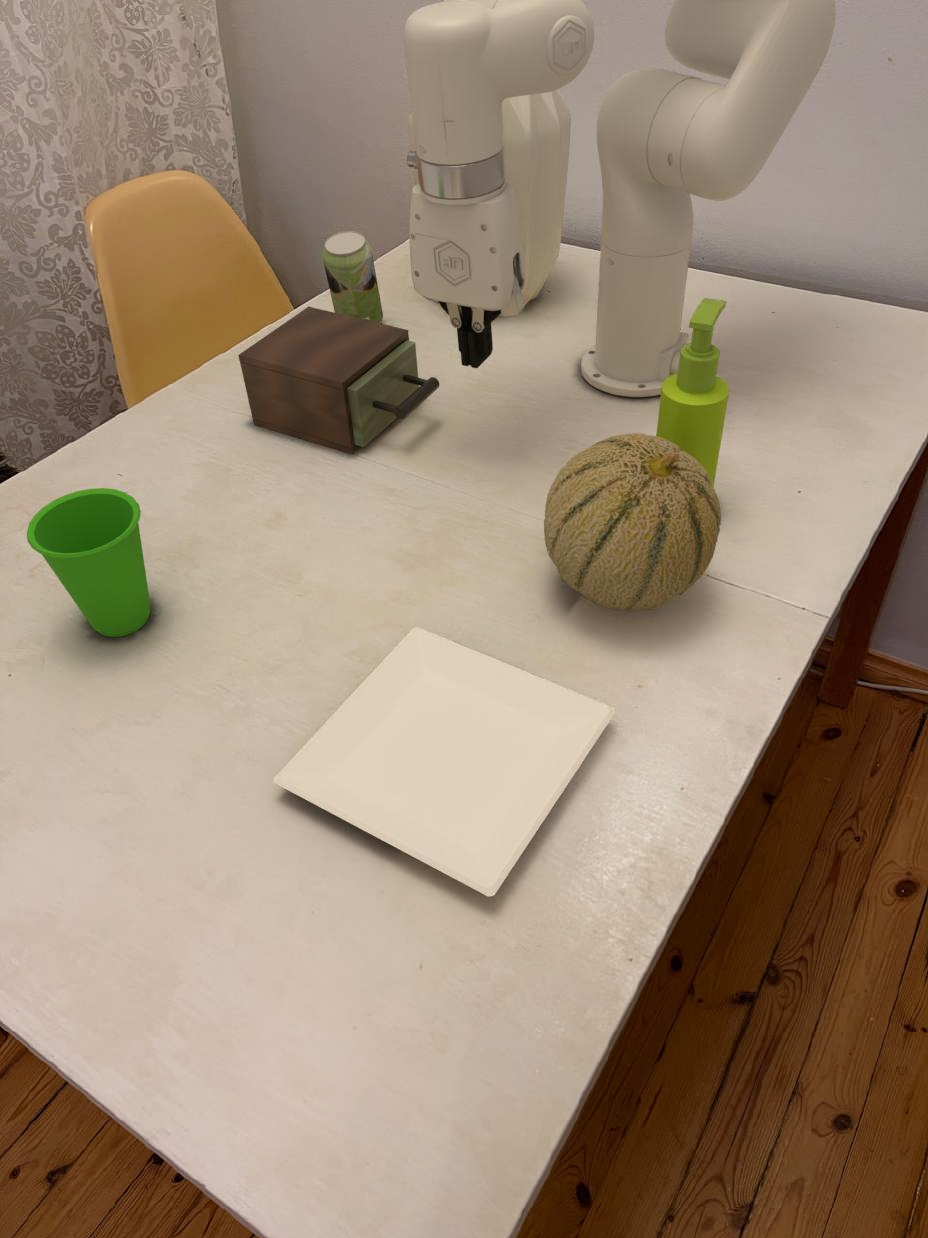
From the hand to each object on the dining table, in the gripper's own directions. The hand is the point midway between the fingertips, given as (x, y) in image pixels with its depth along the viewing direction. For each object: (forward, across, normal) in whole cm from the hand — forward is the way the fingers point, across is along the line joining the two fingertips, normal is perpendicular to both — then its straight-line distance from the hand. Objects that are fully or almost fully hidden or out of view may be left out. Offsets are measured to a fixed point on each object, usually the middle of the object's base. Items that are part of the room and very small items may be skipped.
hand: (476, 359), depth 97 cm
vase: (+12, -17, +32) cm, 38 cm away
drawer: (+9, -15, -1) cm, 17 cm away
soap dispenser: (+11, +22, 0) cm, 25 cm away
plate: (+9, +18, -38) cm, 44 cm away
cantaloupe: (+10, +22, -14) cm, 29 cm away
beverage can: (+11, -28, +16) cm, 34 cm away
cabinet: (+10, -19, -2) cm, 21 cm away
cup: (+8, -16, -38) cm, 42 cm away
